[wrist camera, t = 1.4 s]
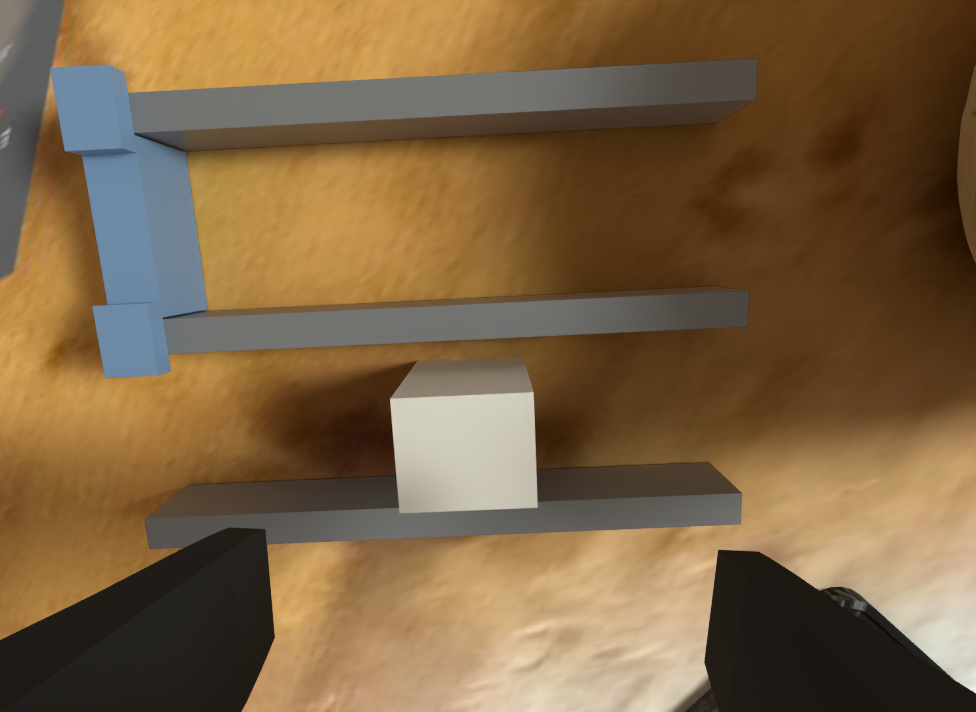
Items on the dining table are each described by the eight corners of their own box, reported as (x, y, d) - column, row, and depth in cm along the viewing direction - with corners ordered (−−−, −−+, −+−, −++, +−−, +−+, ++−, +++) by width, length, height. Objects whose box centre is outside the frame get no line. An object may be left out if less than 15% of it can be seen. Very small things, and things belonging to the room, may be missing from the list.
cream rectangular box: (423, 446, 19) (399, 513, 14) (417, 360, 18) (389, 399, 13) (525, 441, 19) (537, 507, 14) (522, 355, 18) (533, 392, 13)
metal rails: (193, 511, 19) (137, 559, 16) (130, 102, 17) (50, 68, 14) (708, 489, 19) (750, 534, 16) (718, 70, 16) (769, 27, 13)
